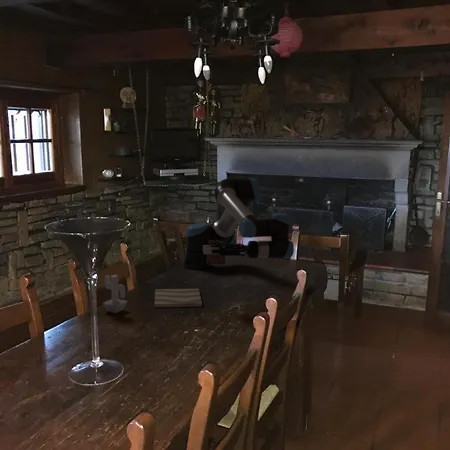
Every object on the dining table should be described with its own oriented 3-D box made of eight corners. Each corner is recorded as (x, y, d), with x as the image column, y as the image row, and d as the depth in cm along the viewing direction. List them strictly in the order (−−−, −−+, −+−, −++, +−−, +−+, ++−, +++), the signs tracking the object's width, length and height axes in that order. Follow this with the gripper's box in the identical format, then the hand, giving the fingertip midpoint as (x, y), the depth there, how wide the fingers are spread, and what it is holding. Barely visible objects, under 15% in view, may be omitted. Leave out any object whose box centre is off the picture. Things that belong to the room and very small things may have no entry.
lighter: (225, 262, 217) (226, 240, 216) (224, 264, 214) (225, 241, 212) (206, 261, 218) (207, 239, 216) (206, 263, 215) (206, 241, 213)
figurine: (118, 315, 202) (118, 279, 199) (100, 311, 206) (99, 275, 203) (129, 309, 208) (129, 275, 206) (111, 306, 212) (111, 271, 210)
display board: (155, 292, 232) (155, 289, 231) (198, 291, 234) (198, 288, 234) (154, 307, 212) (154, 303, 212) (201, 306, 215) (201, 303, 214)
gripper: (260, 262, 210) (204, 263, 207) (253, 253, 226) (201, 253, 223) (261, 245, 208) (205, 245, 205) (254, 236, 225) (202, 236, 222)
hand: (203, 249), depth 214 cm, fingers closed on lighter, 4 cm apart
